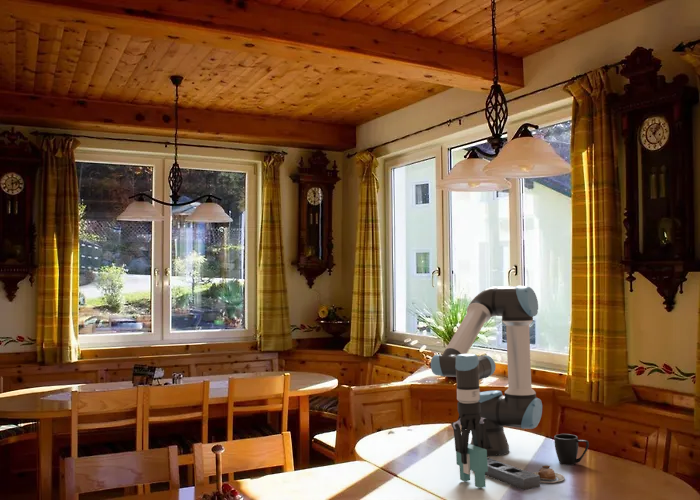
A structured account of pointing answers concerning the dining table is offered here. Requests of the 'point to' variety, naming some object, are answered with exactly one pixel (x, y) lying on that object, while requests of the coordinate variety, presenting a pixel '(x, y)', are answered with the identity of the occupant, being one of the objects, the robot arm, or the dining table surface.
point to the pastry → (549, 475)
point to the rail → (512, 475)
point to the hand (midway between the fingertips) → (472, 472)
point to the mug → (568, 448)
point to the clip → (474, 465)
